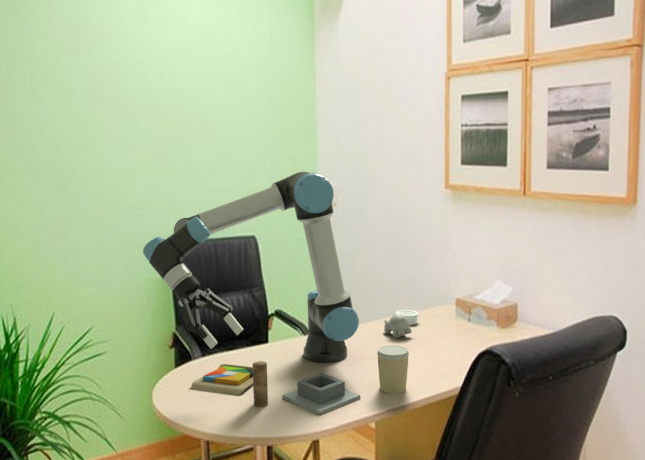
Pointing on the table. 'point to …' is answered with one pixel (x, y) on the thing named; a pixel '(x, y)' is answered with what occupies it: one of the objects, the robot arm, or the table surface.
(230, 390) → the wooden puzzle
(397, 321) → the toy rhinoceros
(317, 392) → the socket
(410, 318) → the ramekin
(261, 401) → the peg
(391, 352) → the coffee cup
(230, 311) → the robot arm
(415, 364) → the table surface
